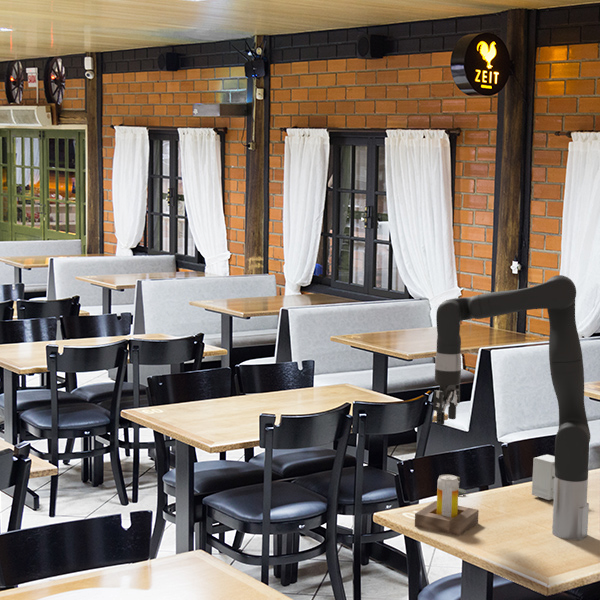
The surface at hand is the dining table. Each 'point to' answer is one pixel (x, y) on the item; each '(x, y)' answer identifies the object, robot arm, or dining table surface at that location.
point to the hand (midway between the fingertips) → (446, 421)
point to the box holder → (446, 520)
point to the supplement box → (543, 477)
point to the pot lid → (460, 491)
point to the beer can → (447, 496)
